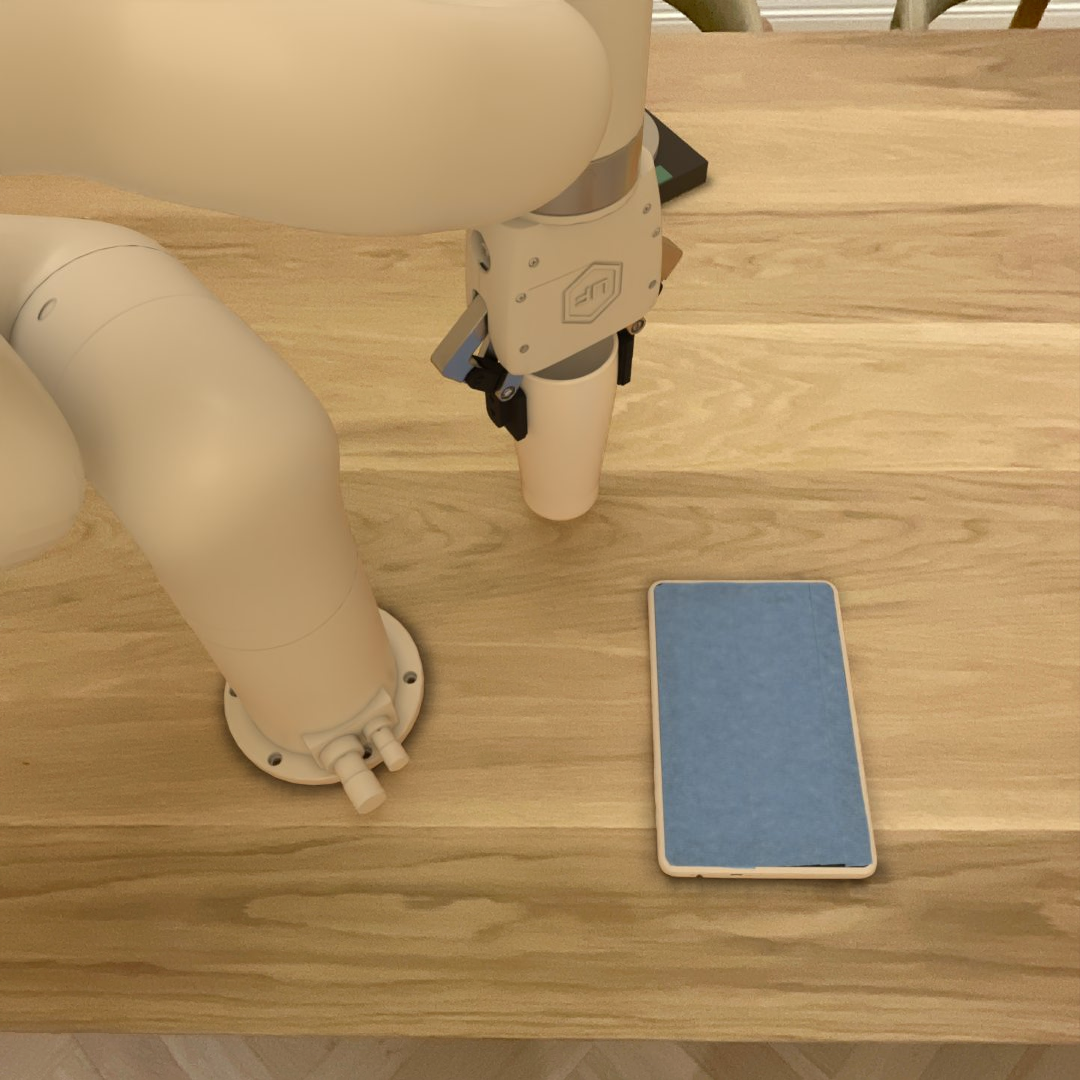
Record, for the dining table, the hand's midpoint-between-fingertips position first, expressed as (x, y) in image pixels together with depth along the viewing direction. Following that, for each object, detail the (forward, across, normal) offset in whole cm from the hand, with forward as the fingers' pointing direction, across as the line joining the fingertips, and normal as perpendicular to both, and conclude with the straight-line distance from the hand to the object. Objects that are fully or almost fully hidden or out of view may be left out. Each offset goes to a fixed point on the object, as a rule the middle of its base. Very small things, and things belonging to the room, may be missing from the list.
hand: (560, 395), depth 65 cm
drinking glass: (+10, 0, 0) cm, 10 cm away
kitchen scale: (+12, +23, +28) cm, 38 cm away
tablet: (+13, +1, -20) cm, 24 cm away
